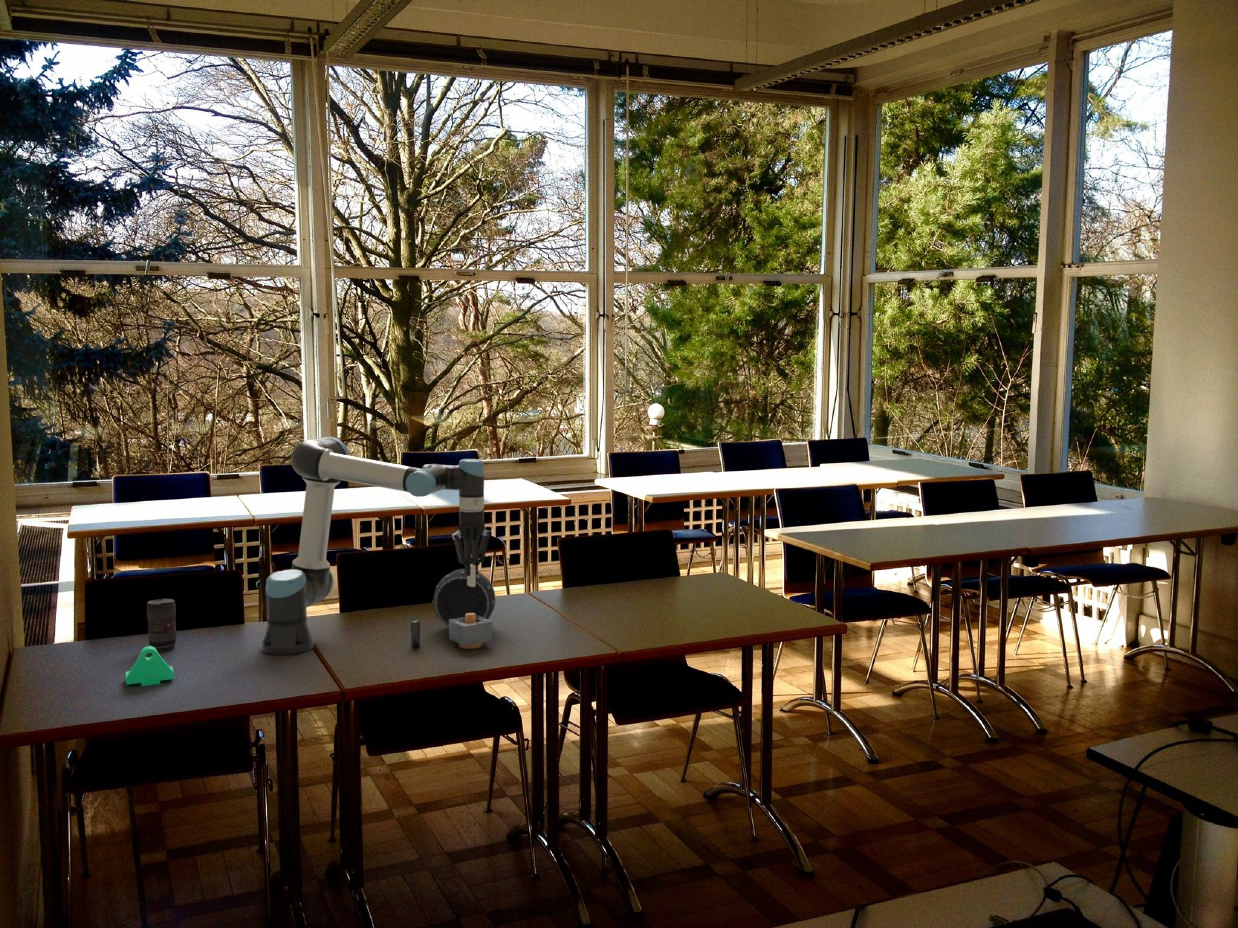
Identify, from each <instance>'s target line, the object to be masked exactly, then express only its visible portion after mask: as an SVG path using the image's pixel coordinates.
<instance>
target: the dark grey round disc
mask: <svg viewBox="0 0 1238 928" xmlns="http://www.w3.org/2000/svg"><path fill="white" fill-rule="evenodd" d="M432 604H433V607H434V612H435V613H436V617H437V618H438V619H439V620H440V621H441V622H442V623H443V624H444V625H445V626H446V627H447V628H448V629H449V619H455V618H461V617H465V614H467V613H475V614H476V615H479V616H481V617H483V618H485V619H487V620H490V617H491V616H492V614H493V612H494V610H495V606H496V592H495V589H494V586H493V585H492V582H491V581H490V580H489V579H488V577H486V576H485V575H484V574H483V573H481V572H479V571H478V574H477V575H476V577H475V586H474V587H470V586H468V585H467V576H466V575H465V568H461V569H460V568H459V569H455V570H453V571H452V572H450V573H448V574H446V575H445V576H444V577H442V578H441V579H440V581H439V582H438V583H437V585H436V587H435V591H434V593H433V599H432Z"/></svg>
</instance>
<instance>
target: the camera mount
mask: <svg viewBox="0 0 1238 928" xmlns="http://www.w3.org/2000/svg"><path fill="white" fill-rule="evenodd" d="M148 654H152V655H151V656H150V657H147V656H146V655H148ZM173 679H175V675H174V669H173V666H171V665H169V664H168V663H167V662H166V661H165V659H164V658H163V657H162V655H161V654H160V652H157V650H156V648H154V647H152V646H150V645H148V646H145V647H143V648H142V649H141V651H140V654H139V656H138V657H137V659H136V660H135V662H134V664H133V665H132V667H131V669H130V670H128V671H126V672H125V682H126V685H133V684H140V685H141V687H143V686H145V687H146V686H152V685H160V684H161V681H167V680H173Z"/></svg>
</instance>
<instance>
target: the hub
mask: <svg viewBox="0 0 1238 928" xmlns="http://www.w3.org/2000/svg"><path fill="white" fill-rule="evenodd" d="M475 622H476V614H475V613H467V614H465V623H466V624H469V623H475ZM458 647H459V648H460V649H463V650H475V649H479V648H481V647H483V642H482V643H476V644H470V645H465V646H463V645H461V644H459V643H458Z"/></svg>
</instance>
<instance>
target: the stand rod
mask: <svg viewBox="0 0 1238 928" xmlns="http://www.w3.org/2000/svg"><path fill="white" fill-rule="evenodd" d="M420 623H421V621H420V620H418V619H417V620H411V621H410V647H411V648H413V649H418V648H420V647H421V624H420Z"/></svg>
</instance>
